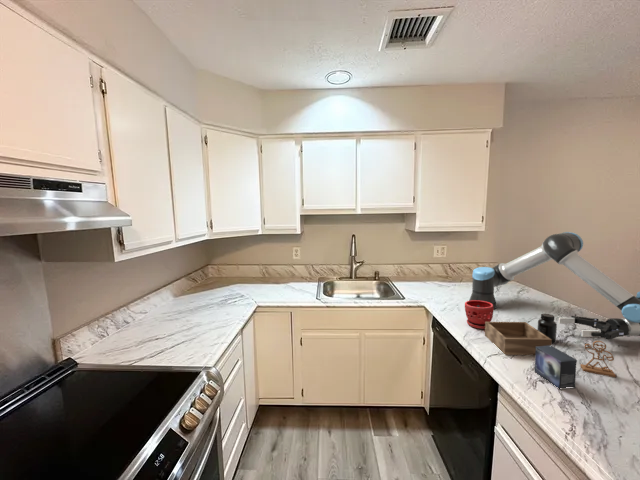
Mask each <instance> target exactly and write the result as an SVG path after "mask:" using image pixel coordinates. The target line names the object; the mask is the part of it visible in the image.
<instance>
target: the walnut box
mask: <svg viewBox="0 0 640 480" xmlns="http://www.w3.org/2000/svg"><path fill="white" fill-rule="evenodd" d="M537 329H538V328H537ZM537 329H536V328H535V327H534V326H532V325H530V324H529V323H527V322H526V321H491V322H485V329H484V336H485V338H487V340H489V341H490V342H491V343H492V344H493V343H494V344H495V345H496V346H497V347H498V348H499V349H500V350H501V351H502V352H503V353H504V354H506V355H505V356H509V355H510V356H535V351H536V347H538V346H547V345H551V346H552V344H553V343H552V339H550V338H549V337H547V336H546V335H544V334H543V333H541V332H540V331H538V330H537ZM494 344H493V345H494ZM495 345H494V346H495ZM496 346H495V347H496ZM497 347H496V348H497ZM498 348H497V349H498ZM499 349H498V350H499ZM500 350H499V351H500ZM501 351H500V352H501ZM502 352H501V353H502ZM503 353H502V354H503ZM504 354H503V355H504Z"/></svg>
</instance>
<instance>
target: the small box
mask: <svg viewBox="0 0 640 480" xmlns="http://www.w3.org/2000/svg"><path fill="white" fill-rule="evenodd" d="M577 362H578V360H577V359H576V358H574V357H573V356H570V355H569V354H567V353H566V352H563V351H562V350H560V349H558V348H556V347H554V346H552V344H551V345H547V346H538V347H536V351H535V355H534V373H535V374H536V373H537V374H536V375H538V376H539V375H540V378H542V377H543V378H542V379H543V380H545V379H546V380H548V381H549V382H550V383H549V382H548V381H547V382H548V383H549V384H551V383H552V384H553V385H552V384H551V385H552V386H554V385H555V386H556V387H558V388H559V389H558V388H557V389H558V390H561V389H560V388H566V387H575V388H576V376H577V375H576V373H577ZM546 380H545V381H546ZM555 386H554V387H555ZM556 387H555V388H556Z"/></svg>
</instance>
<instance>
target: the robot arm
mask: <svg viewBox="0 0 640 480" xmlns="http://www.w3.org/2000/svg"><path fill="white" fill-rule="evenodd" d="M583 247H584V241H583V239H582V236H580V235H578V234H577V233H575V232H569V231H565V232H561V233H555V234H551V235H549V236H547V237H546V238H545V239H544V241H542V244H541V246H539V247H537V248H535V249H533V250H531V251H529V252H527V253H525V254H522V255H521V256H519V257H516V258H515V259H513V260H511V261H508V262H507V263H504V262H503V263H501V262H500V263H498V264H497V265H495V266H493V267H490V266H481V267H476V268H474V269H473V270H472V285H471V286H472V291H471V295H470V298H469V299H468V301H471V300H479V301H486V302H489V303H491V304H493V310H495V309H497V307H498V303H497V300H496V298H495V287H496V288H497V287H499V286H503V285H506V284H508V283H509V282H511V281H513V280H514V279H515V276H518V275H520V274H522V273H525V272H527V271H529V270H531V269H534V268H537V267H538V266H540V265H542V264H545V263H547V262H549V261H551V260H553V261H554V262H556V263H557V264H558V265H562V266H564V267H565V268H567V269H568V270H569V271H571V272H572V273H573V274H574V275H576V276H577V277H578V278H579V279H580V280H582V281H583V282H584V283H586V284H587V285H588V286H590V287H591V288H592V289H593V290H594V291H596V292H597V293H599V294H600V295H601V296H602V297H604V298H605V299H606V300H608V302H610V303H611V304H612V305H614V306H615V307H617V308H618V309H619V310H620V311H621V315H622V316H623V318H622V317H620V318H618V317H617V318H616V317H615V318H611V317H610V318H607V320H606V321H605V320H599V318H593V317H583V316H578V315H570V317H558V322H557V323H558V324H559V325H570V324H571V325H575V324H579V325H583V326H587V327H588V326H589V327H592V329H581V334H580V337H582V338H602V339H604V338H605V340H607V341H610V340H613V339H617V338H619V337H620V338H621V337H624V336H625V337H640V291H637V293H636V296H635V295H634V294H632V293H631V292H630V291H628V290H627V289H626V288H624V287H623V286H622V285H620V284H619V283H618V282H616V281H615V280H614V279H612V278H611V277H609V276H608V275H607V274H605V273H604V271H601V270H600V269H599V268H597V266H595V265H593V264H592V263H591V262H589V261H588V260H586V259H585V258H584V257H582V256H581V255H580V254H578V253H579V252H580V251H581V250H582V249H583ZM473 307H475V306H473ZM477 307H480V306H479V305H477ZM482 308H484V307H482Z"/></svg>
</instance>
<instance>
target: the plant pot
mask: <svg viewBox="0 0 640 480" xmlns="http://www.w3.org/2000/svg"><path fill="white" fill-rule="evenodd" d="M477 305H479V306H480V307H477ZM473 306H475V307H473ZM482 307H484V308H482ZM464 311H465V316H466V323H467V325H469V326H470V327H472V328H476V329H481V330H485V322H492V320H493V317H494V309H493V304H491V303H489V302H486V301H479V300H471V301H469V300H466V301H465V302H464Z"/></svg>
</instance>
